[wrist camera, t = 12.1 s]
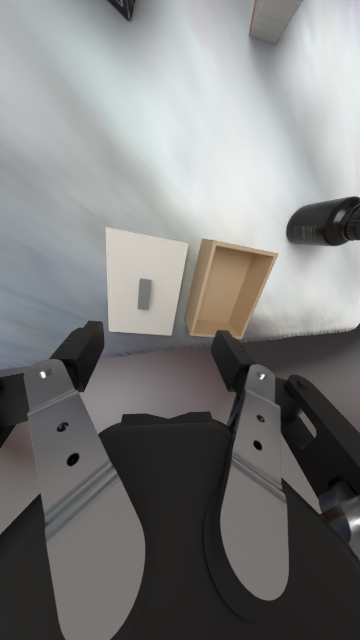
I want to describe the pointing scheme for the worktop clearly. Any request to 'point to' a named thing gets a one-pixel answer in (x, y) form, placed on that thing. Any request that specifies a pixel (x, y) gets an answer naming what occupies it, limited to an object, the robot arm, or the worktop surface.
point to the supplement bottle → (326, 223)
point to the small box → (124, 7)
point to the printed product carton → (272, 18)
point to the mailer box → (226, 287)
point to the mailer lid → (143, 281)
